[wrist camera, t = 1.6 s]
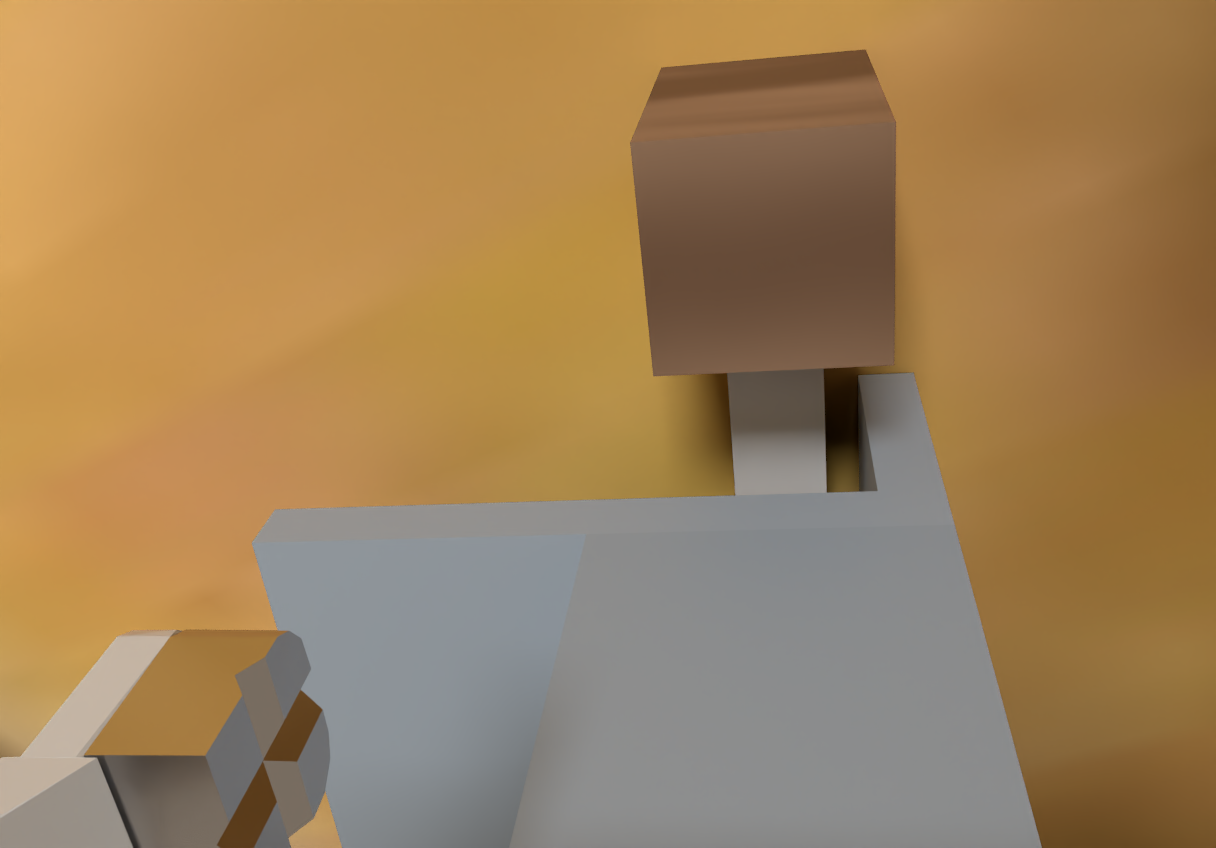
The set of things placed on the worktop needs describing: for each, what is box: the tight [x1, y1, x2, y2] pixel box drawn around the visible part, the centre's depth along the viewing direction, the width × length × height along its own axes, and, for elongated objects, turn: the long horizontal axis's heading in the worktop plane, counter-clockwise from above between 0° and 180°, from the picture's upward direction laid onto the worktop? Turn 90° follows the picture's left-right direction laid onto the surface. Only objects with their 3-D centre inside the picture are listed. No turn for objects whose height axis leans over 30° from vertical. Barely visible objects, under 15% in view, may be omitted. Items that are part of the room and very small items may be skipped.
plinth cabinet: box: [252, 373, 1042, 848], centre depth 23 cm, size 14×13×14 cm
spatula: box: [630, 50, 896, 495], centre depth 24 cm, size 17×4×6 cm, turn 6°
